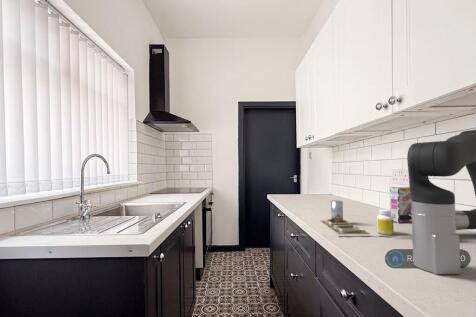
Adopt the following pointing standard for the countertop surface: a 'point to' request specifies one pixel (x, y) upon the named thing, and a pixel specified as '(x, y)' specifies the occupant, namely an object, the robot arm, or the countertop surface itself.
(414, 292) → the countertop surface
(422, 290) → the countertop surface
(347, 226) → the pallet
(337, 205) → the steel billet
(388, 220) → the supplement bottle
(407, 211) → the candy bar box
